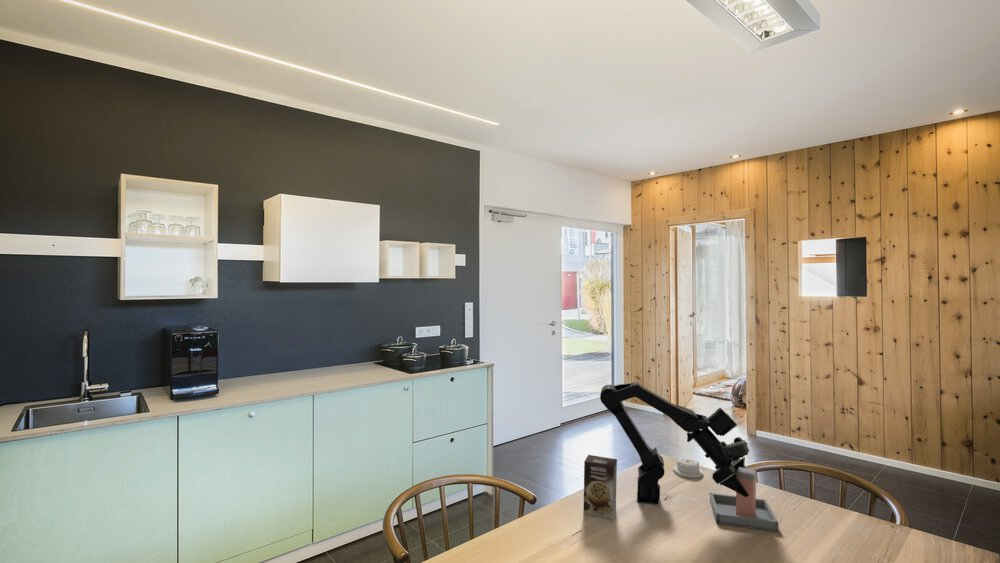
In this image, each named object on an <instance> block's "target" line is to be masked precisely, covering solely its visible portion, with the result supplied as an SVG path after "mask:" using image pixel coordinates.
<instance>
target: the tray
mask: <svg viewBox="0 0 1000 563" xmlns="http://www.w3.org/2000/svg"><path fill="white" fill-rule="evenodd" d="M709 504H710V508H711V511H712V513H713V518H714V520H715V523H716V524H717V525H722V526H723V525H724V526H733V527H739V528H747V529H752V530H753V529H754V530H761V531H769V532H775V533H779V521H778V519H777V517H776V515H775V514H774V512H773V510H772V508H771V507H770V505H769V503H768V502H767V499H766V498H765V499H763V498H756V510H755V516H754V518H753V517H745V516H738V515H736V495H730V494H723V493H722V494H721V493H715V492H714V493H712V492H709Z"/></svg>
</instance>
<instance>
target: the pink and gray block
mask: <svg viewBox="0 0 1000 563" xmlns="http://www.w3.org/2000/svg"><path fill="white" fill-rule="evenodd" d="M737 477H738V479H739V481H740V482H741V484H742V485H743V487H744V488H745V489H746V491H747V492H748V494H749V496H747V497H745V496H743V495H741V494H739V493H737V492H735V494H736V495H735V496H736V515H738V516H745V517H753V518H754V516H755V510H756V499H757V498H756V497H757V496H756V495H757V494H756V492H757V488H756V487H757V486H756V485H757V470H755V469H750V468H742V467H739V469H738V470H737Z"/></svg>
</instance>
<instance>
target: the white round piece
mask: <svg viewBox="0 0 1000 563" xmlns="http://www.w3.org/2000/svg"><path fill="white" fill-rule="evenodd" d="M673 473H674V474H676V475H677V476H679V477H683V478H686V479H687V478H688V479H700V478H702V477H703V476H704V475H703V473H704V471H703V469H702V468H700V462H699V461H698V460H695V459H692V458H688V457H682V458H678V459H677V460H676V464H675V465H674V466H673Z"/></svg>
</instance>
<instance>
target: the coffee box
mask: <svg viewBox="0 0 1000 563" xmlns="http://www.w3.org/2000/svg"><path fill="white" fill-rule="evenodd" d="M583 464H584V466H583V470H584V471H583V511H582V512H583V515H588V516H592V517H599V518H602V519H603V518H604V519H608V520H611V521H612V520H614V518H615V515H616V512H617V474H618V472H617V470H618V459H617V458H612V457H611V458H610V457H604V456H600V455H599V456H598V455H592V454H588V455H587V456H586V458H585V459H584V463H583Z"/></svg>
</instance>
